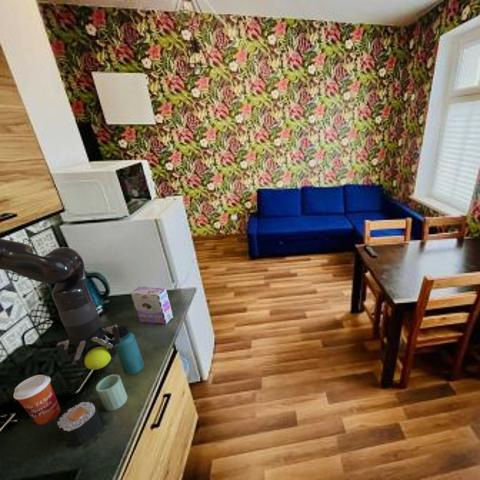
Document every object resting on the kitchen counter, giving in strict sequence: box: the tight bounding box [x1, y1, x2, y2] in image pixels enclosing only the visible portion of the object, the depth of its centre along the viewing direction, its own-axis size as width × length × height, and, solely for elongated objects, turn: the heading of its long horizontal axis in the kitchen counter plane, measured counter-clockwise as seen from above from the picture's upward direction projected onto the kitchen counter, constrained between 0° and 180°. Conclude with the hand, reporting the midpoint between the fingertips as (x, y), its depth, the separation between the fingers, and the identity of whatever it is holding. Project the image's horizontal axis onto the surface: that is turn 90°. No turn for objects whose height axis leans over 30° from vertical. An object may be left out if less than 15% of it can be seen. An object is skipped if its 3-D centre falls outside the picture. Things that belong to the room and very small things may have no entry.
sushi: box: [56, 401, 104, 447], centre depth 78 cm, size 8×8×8 cm
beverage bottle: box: [114, 325, 145, 376], centre depth 95 cm, size 6×7×20 cm
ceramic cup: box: [95, 373, 128, 412], centre depth 86 cm, size 6×6×9 cm
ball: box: [84, 346, 112, 371], centre depth 81 cm, size 6×6×6 cm
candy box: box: [129, 286, 174, 326], centre depth 123 cm, size 14×6×16 cm, turn 83°
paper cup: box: [13, 374, 61, 426], centre depth 81 cm, size 8×8×14 cm
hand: (99, 360), depth 81 cm, fingers closed on ball, 6 cm apart
